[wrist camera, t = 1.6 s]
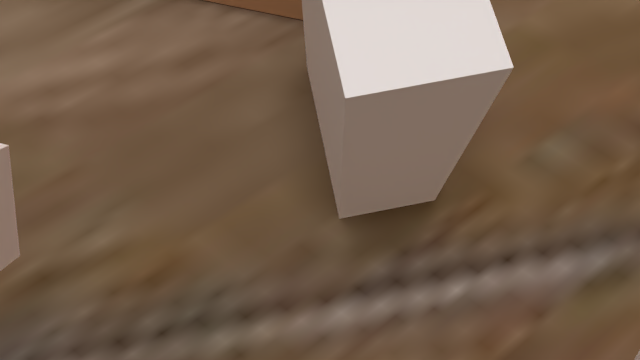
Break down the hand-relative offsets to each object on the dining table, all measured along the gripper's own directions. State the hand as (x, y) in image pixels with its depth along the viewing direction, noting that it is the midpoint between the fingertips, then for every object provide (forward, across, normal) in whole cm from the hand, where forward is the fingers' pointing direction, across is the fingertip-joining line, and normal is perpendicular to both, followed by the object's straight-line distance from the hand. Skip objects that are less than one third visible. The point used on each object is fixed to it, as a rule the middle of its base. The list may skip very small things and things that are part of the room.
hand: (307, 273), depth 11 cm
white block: (+19, 0, -4) cm, 19 cm away
